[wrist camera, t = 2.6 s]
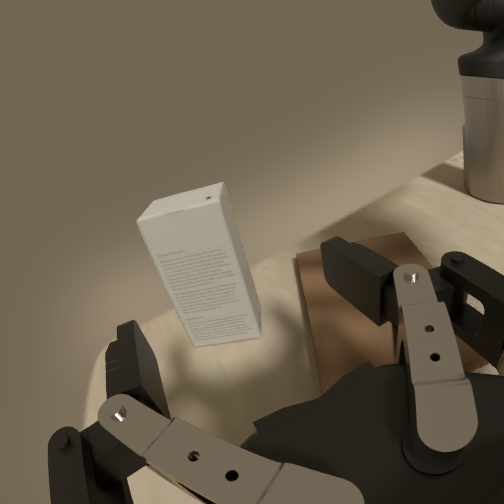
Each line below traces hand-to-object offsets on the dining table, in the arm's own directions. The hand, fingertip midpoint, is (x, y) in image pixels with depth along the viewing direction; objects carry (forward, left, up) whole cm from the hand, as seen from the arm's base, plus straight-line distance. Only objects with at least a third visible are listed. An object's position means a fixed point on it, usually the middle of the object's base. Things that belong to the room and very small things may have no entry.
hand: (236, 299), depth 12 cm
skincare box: (-11, -4, -11) cm, 16 cm away
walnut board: (-10, +9, -11) cm, 17 cm away
